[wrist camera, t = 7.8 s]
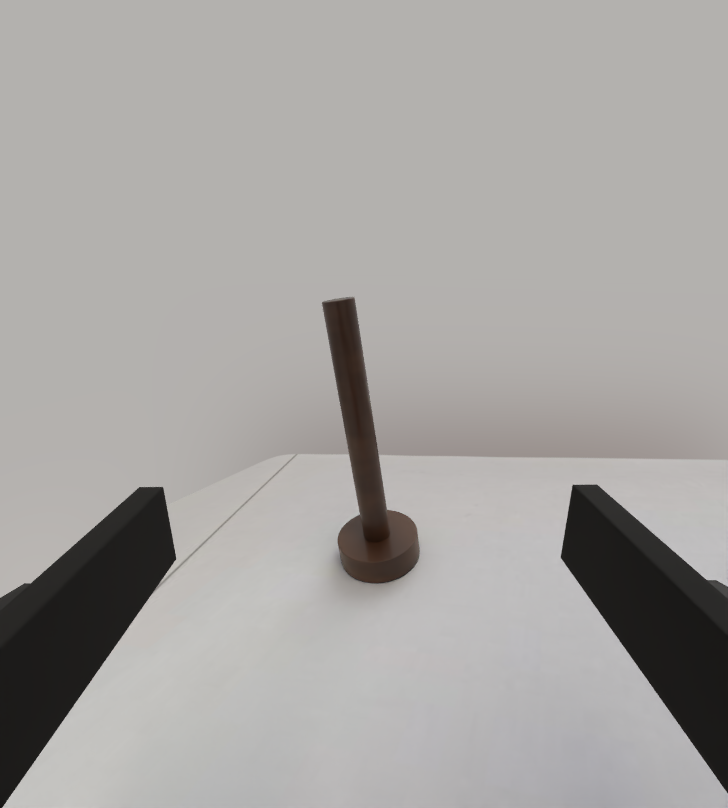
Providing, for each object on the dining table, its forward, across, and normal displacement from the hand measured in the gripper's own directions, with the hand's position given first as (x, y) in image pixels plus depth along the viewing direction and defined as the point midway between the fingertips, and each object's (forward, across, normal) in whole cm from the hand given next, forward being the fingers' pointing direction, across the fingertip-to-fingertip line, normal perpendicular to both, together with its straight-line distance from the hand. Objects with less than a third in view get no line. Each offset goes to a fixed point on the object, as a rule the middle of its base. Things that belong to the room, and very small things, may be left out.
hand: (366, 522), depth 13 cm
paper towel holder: (+14, +1, -12) cm, 19 cm away
